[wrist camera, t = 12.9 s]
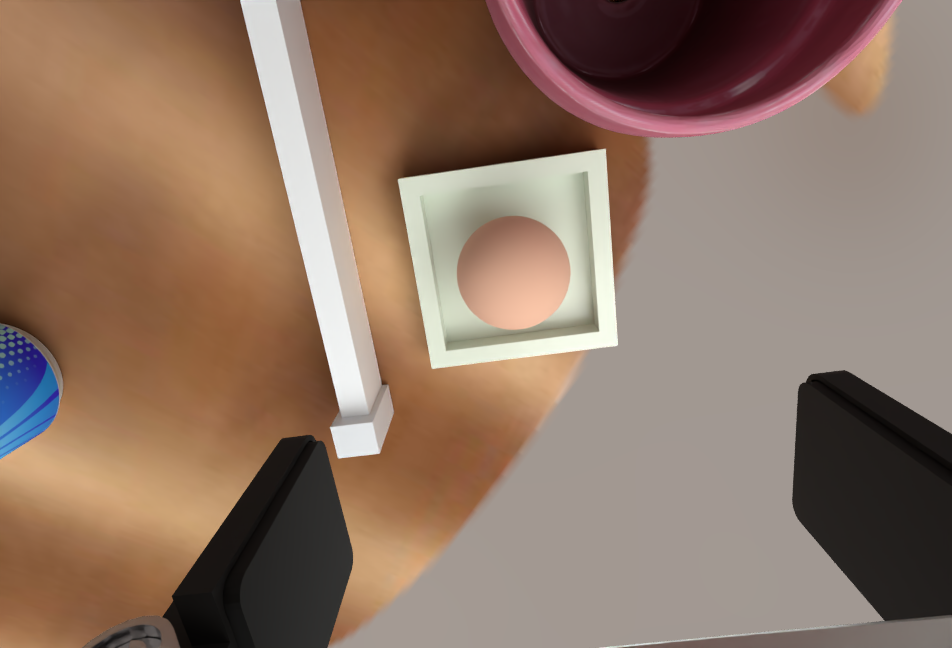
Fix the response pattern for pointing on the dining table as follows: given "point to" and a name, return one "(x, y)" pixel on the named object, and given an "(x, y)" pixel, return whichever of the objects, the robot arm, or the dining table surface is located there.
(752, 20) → the plant pot
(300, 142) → the rail
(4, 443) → the beer can
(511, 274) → the ball
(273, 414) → the dining table surface
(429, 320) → the square tray
